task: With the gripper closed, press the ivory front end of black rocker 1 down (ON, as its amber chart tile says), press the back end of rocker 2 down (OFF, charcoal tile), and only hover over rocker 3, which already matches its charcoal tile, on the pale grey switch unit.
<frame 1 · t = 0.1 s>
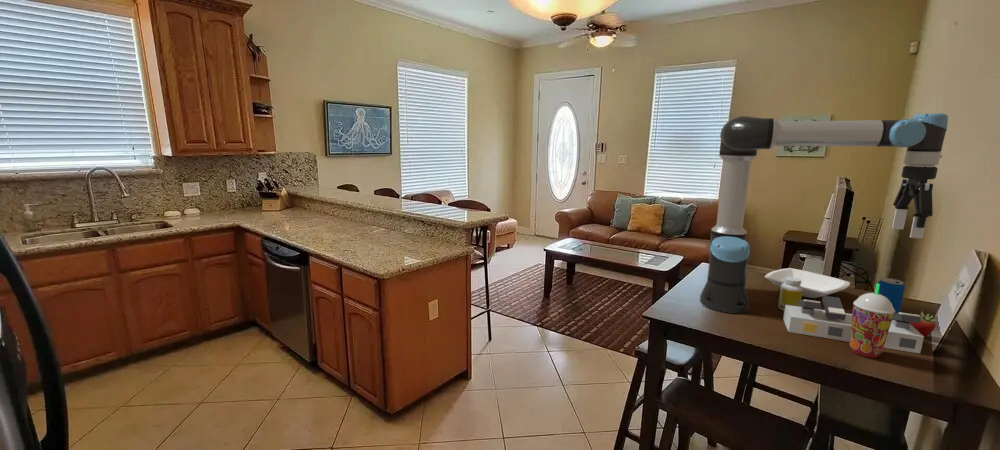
hand: (906, 233, 131), 28 cm above the table, fingers open, 13 cm apart
rocker 2: (833, 307, 124), point 8 cm above the table, hinge at 17.0°
switch unit: (845, 334, 124), on the table
fruit: (919, 338, 122), on the table
rocker 3: (903, 316, 117), point 8 cm above the table, hinge at -17.0°
rocker 1: (809, 303, 126), point 8 cm above the table, hinge at -17.0°
beverage can: (884, 315, 137), on the table
bowl: (804, 294, 156), on the table
smoothie: (864, 353, 113), on the table
pill bottle: (788, 309, 142), on the table
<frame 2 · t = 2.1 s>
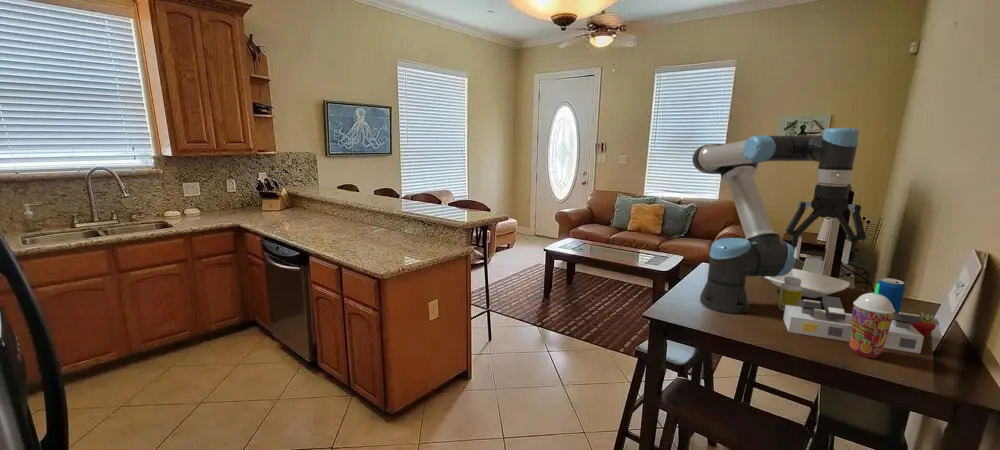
hand: (819, 260, 120), 23 cm above the table, fingers open, 11 cm apart
nothing on the table moved.
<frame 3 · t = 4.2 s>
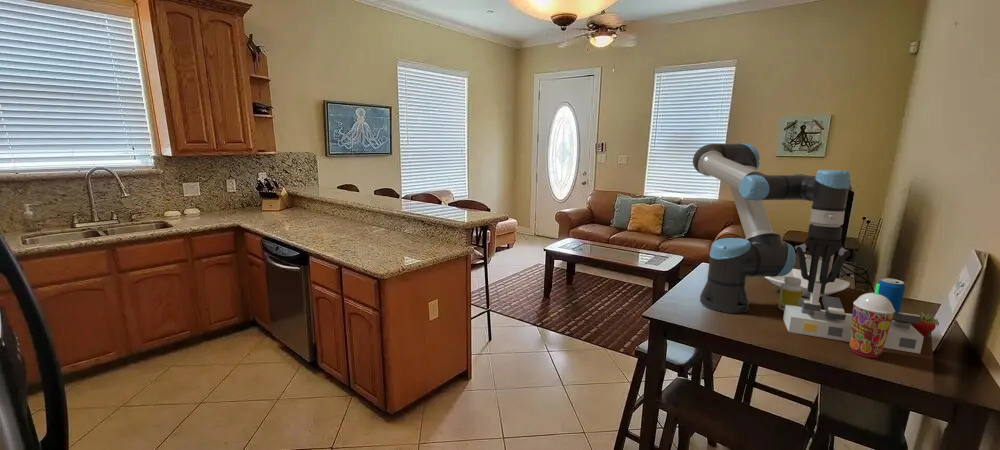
hand: (813, 303, 122), 10 cm above the table, fingers closed
rocker 1: (809, 303, 126), point 8 cm above the table, hinge at -8.4°, touching gripper
everything else where it was.
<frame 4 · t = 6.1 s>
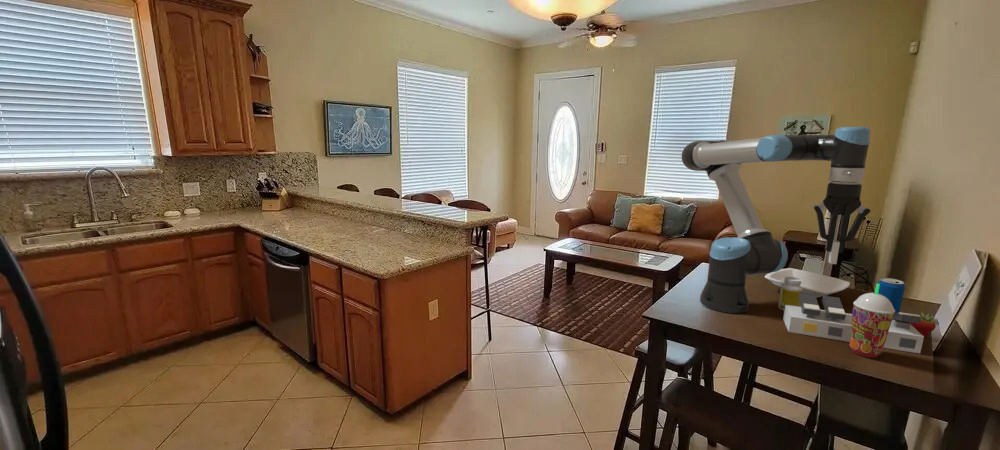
hand: (832, 262, 122), 22 cm above the table, fingers closed
rocker 1: (809, 303, 126), point 8 cm above the table, hinge at 14.6°
everything else where it was.
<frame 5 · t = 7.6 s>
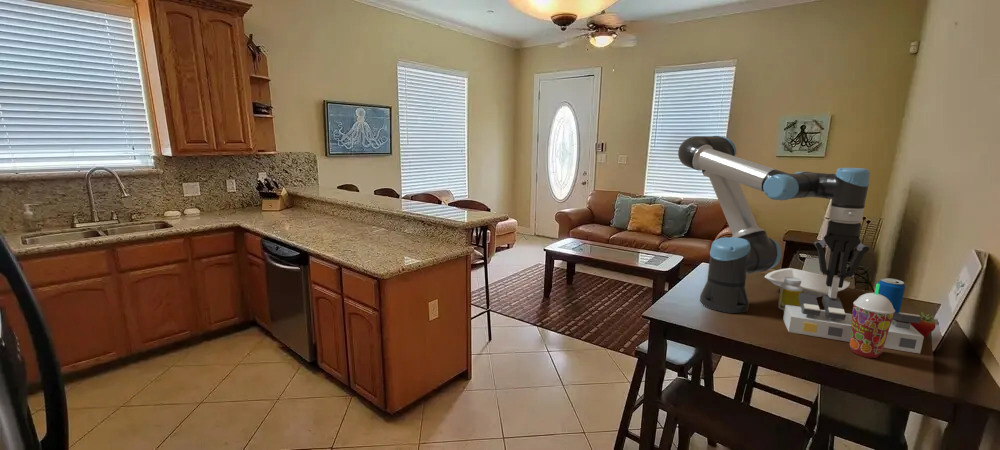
hand: (832, 296, 126), 10 cm above the table, fingers closed
rocker 2: (833, 307, 124), point 8 cm above the table, hinge at 16.9°, touching gripper
rocker 1: (809, 303, 126), point 8 cm above the table, hinge at 15.3°
everything else where it was.
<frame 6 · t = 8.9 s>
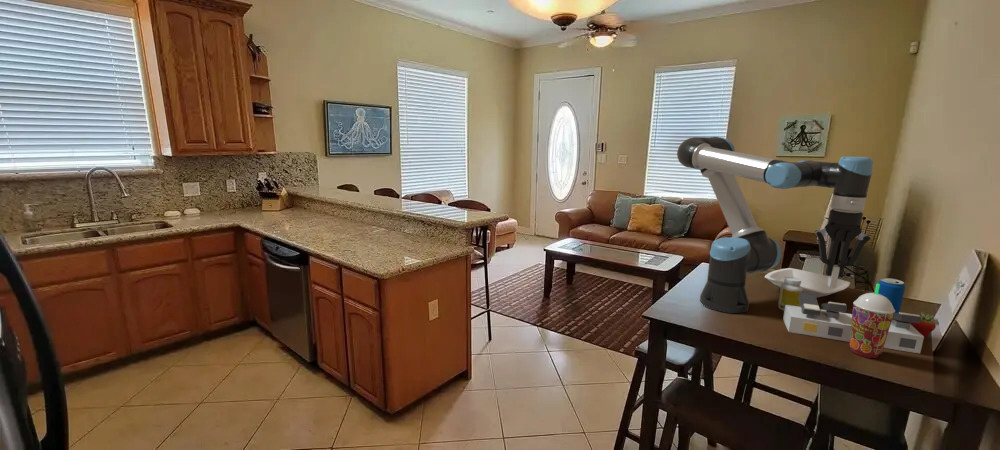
hand: (831, 286, 126), 13 cm above the table, fingers closed
rocker 2: (833, 306, 124), point 8 cm above the table, hinge at -22.1°
everything else where it was.
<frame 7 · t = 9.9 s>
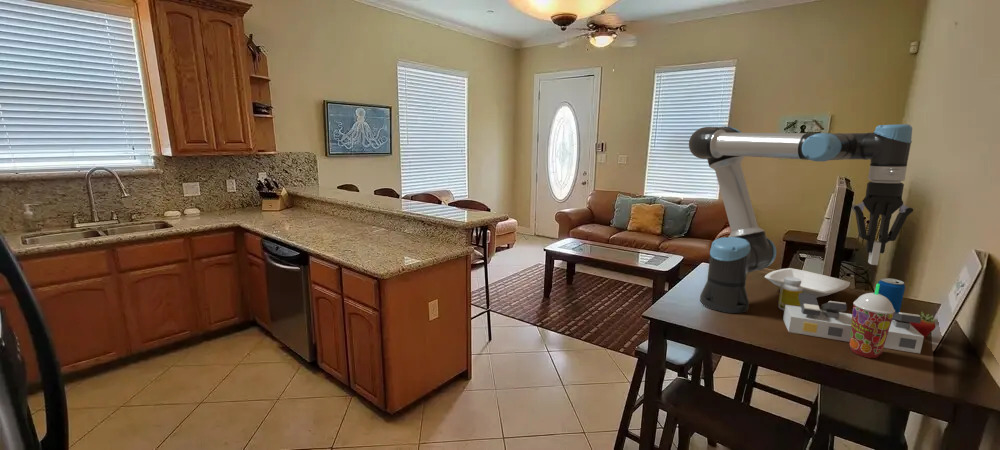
hand: (872, 263, 119), 22 cm above the table, fingers closed
rocker 2: (833, 306, 124), point 8 cm above the table, hinge at -26.4°
everything else where it was.
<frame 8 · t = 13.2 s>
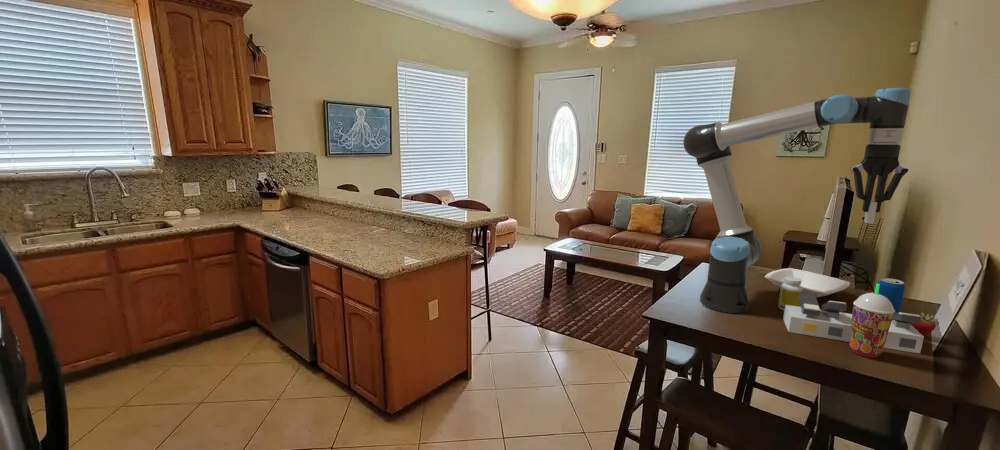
hand: (868, 222, 126), 32 cm above the table, fingers closed
rocker 2: (833, 306, 124), point 8 cm above the table, hinge at -27.4°
everything else where it was.
at the end: rocker 1 at +15° (first picture: -17°); rocker 2 at -27° (first picture: +17°); rocker 3 at -17° (first picture: -17°) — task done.
